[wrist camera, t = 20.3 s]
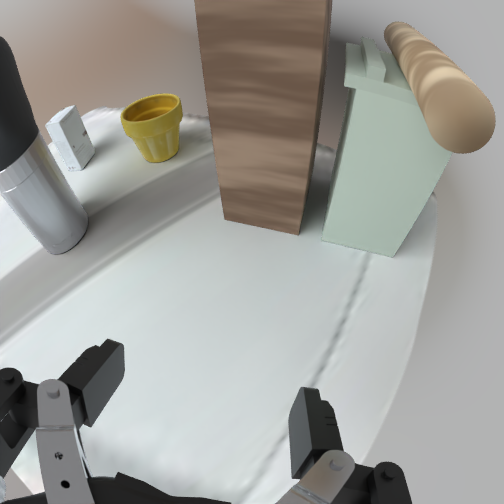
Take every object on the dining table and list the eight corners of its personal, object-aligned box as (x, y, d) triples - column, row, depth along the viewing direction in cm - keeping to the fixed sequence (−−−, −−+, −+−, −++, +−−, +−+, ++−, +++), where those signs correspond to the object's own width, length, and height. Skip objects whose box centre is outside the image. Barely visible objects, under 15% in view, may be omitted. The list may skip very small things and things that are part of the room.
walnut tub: (305, 237, 36) (342, -35, 10) (217, 218, 38) (179, -32, 12) (318, 177, 43) (343, -28, 16) (244, 163, 45) (232, -33, 19)
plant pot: (191, 132, 51) (183, 88, 43) (186, 165, 45) (175, 115, 37) (141, 140, 51) (128, 99, 42) (129, 173, 45) (111, 128, 37)
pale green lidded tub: (399, 259, 34) (482, 107, 15) (313, 238, 36) (348, 59, 17) (396, 196, 40) (445, 64, 21) (324, 178, 42) (347, 33, 23)
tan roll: (468, 165, 13) (507, 115, 9) (412, 129, 12) (450, 68, 9) (410, 60, 24) (424, 33, 20) (378, 43, 24) (391, 15, 20)
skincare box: (82, 170, 47) (59, 121, 37) (67, 172, 47) (43, 126, 37) (96, 150, 50) (77, 103, 40) (81, 152, 51) (61, 108, 40)
